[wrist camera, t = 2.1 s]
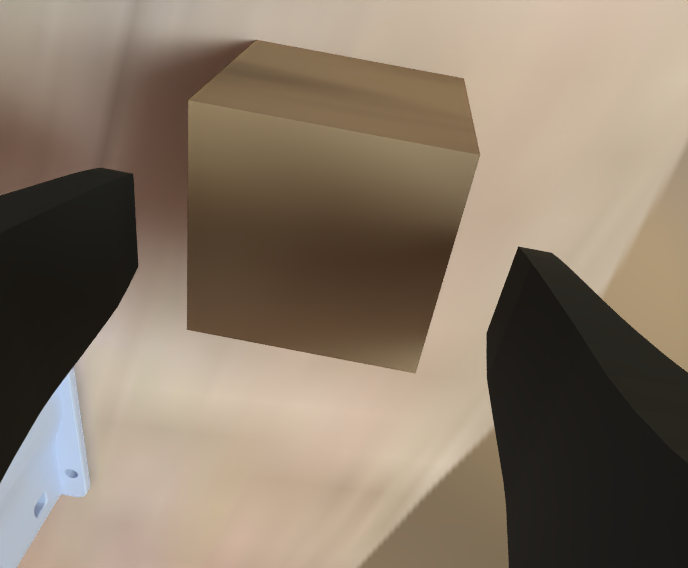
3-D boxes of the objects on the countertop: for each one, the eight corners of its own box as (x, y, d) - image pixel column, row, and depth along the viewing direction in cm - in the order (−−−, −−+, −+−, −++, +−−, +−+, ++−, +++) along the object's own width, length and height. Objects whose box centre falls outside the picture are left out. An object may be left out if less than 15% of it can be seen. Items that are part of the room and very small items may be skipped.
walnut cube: (417, 255, 17) (415, 373, 13) (245, 222, 17) (187, 329, 13) (463, 77, 14) (479, 154, 10) (257, 39, 14) (188, 100, 10)
